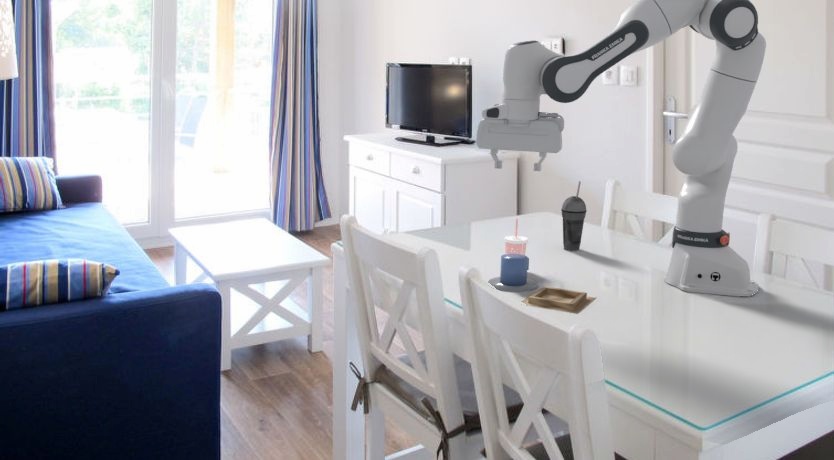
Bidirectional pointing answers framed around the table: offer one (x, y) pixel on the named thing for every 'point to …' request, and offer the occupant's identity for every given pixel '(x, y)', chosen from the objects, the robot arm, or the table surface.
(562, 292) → the tray
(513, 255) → the blue cylinder with nub
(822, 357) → the table surface
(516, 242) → the beverage cup
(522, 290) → the coaster
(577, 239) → the beverage cup
